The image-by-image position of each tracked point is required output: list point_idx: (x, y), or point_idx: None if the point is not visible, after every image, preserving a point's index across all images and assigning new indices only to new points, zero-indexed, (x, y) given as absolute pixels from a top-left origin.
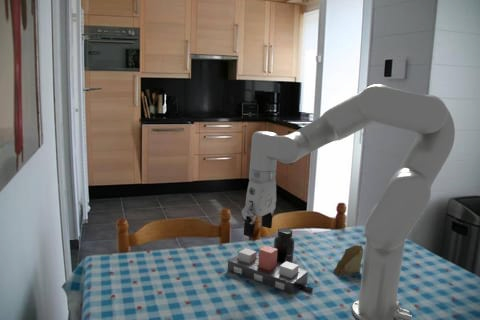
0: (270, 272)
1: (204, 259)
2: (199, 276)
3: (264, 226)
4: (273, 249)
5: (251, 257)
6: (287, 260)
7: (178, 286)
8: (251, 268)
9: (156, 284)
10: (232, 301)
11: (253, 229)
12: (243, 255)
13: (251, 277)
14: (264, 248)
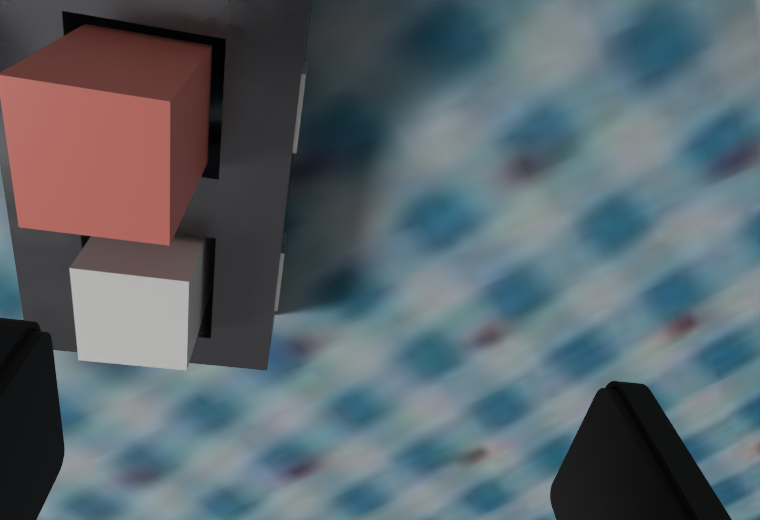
0: (252, 24)
1: (212, 464)
2: (406, 400)
3: (60, 420)
4: (49, 115)
5: (164, 262)
6: None
7: (549, 421)
8: (281, 195)
9: None
10: (605, 140)
11: (713, 498)
12: (191, 322)
13: (292, 158)
14: (105, 211)
